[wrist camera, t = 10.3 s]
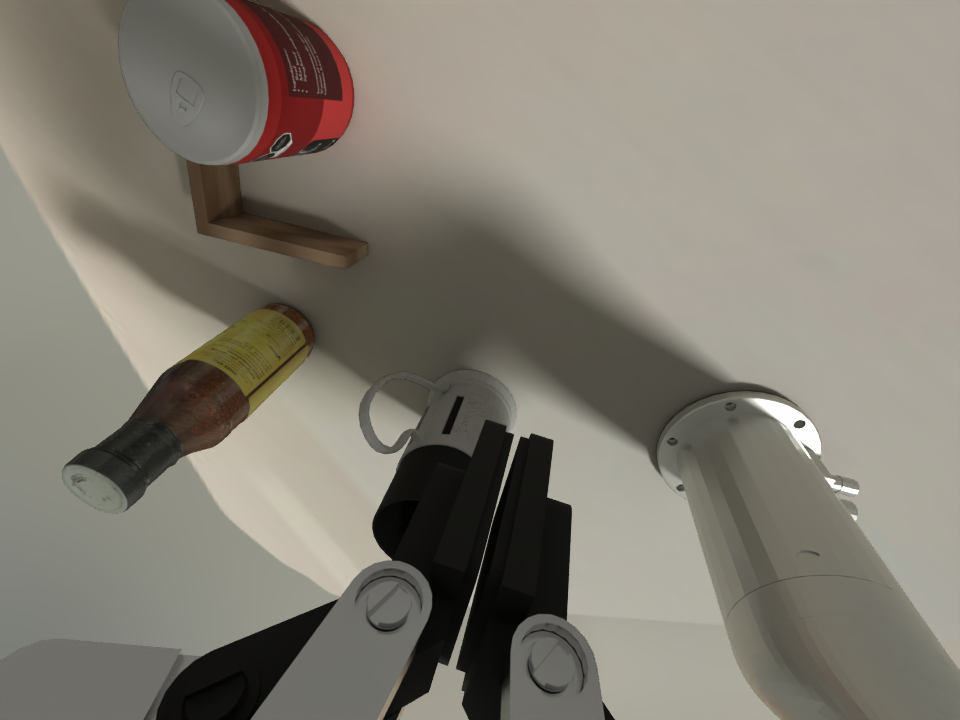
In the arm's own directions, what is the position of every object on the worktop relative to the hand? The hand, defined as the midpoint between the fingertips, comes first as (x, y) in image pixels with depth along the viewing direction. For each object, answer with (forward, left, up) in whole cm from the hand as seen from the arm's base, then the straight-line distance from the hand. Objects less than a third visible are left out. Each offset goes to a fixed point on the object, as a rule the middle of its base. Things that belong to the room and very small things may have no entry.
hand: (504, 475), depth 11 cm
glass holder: (+5, +16, -26) cm, 30 cm away
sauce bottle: (+22, +15, -26) cm, 37 cm away
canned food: (+19, -6, -26) cm, 33 cm away
